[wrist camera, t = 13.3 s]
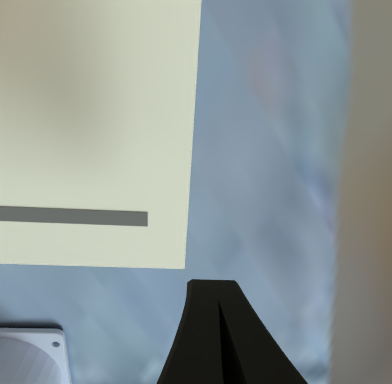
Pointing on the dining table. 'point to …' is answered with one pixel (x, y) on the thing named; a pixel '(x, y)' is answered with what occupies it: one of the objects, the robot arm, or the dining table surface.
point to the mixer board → (96, 131)
